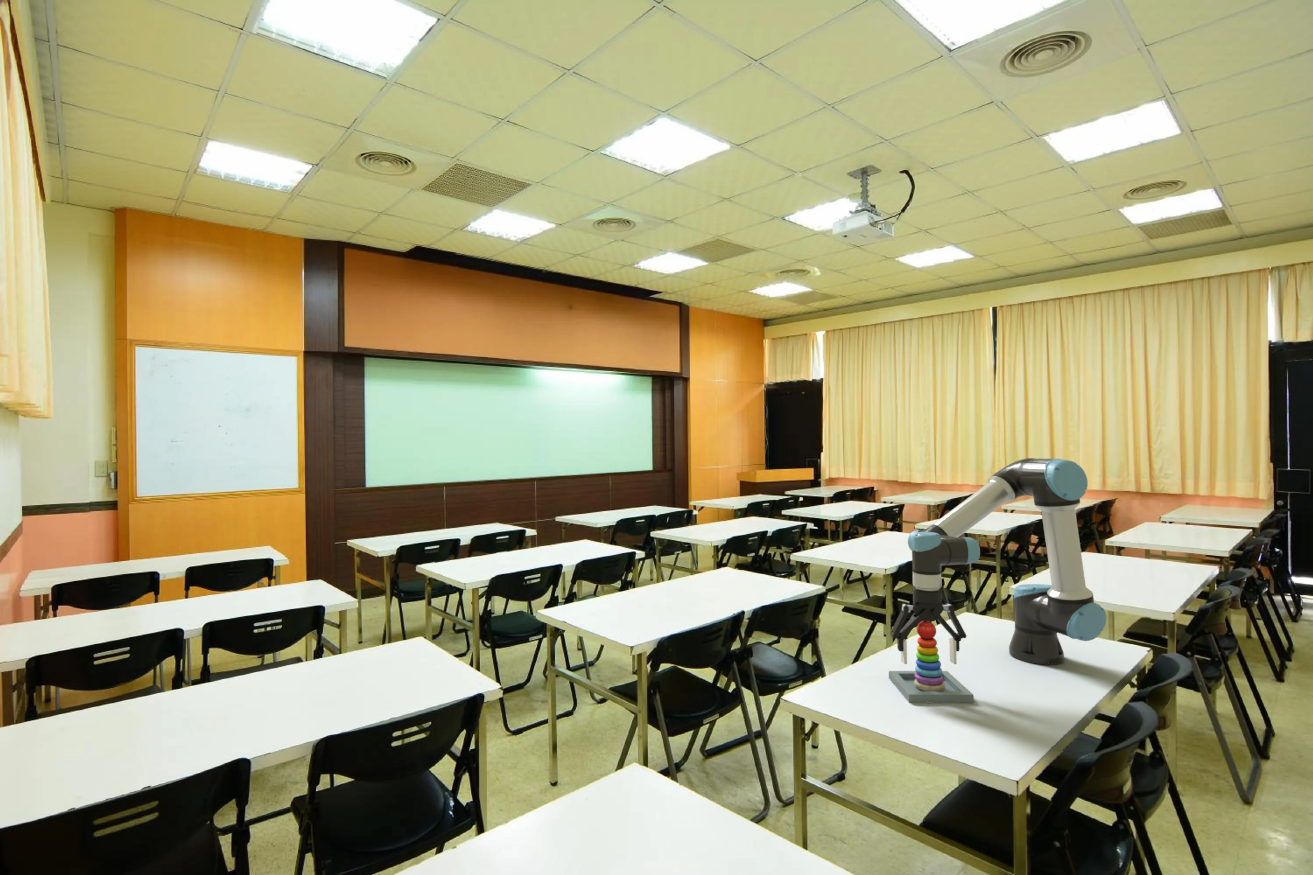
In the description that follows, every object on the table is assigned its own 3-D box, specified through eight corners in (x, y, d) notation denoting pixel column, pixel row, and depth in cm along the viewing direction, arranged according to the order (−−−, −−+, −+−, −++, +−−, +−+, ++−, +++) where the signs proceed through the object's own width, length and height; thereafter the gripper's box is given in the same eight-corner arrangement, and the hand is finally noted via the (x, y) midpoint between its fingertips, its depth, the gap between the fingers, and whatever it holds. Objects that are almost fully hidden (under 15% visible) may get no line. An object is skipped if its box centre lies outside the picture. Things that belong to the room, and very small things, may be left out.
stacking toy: (938, 682, 179) (937, 617, 179) (949, 693, 171) (947, 625, 171) (910, 681, 180) (909, 617, 180) (919, 693, 172) (918, 625, 172)
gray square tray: (947, 678, 183) (947, 670, 183) (973, 702, 166) (973, 694, 166) (888, 678, 184) (888, 670, 184) (909, 702, 167) (908, 694, 167)
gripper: (966, 584, 178) (967, 657, 178) (878, 584, 180) (879, 657, 180) (978, 590, 171) (980, 667, 171) (886, 590, 172) (887, 667, 172)
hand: (928, 662), depth 175 cm, fingers open, 13 cm apart
